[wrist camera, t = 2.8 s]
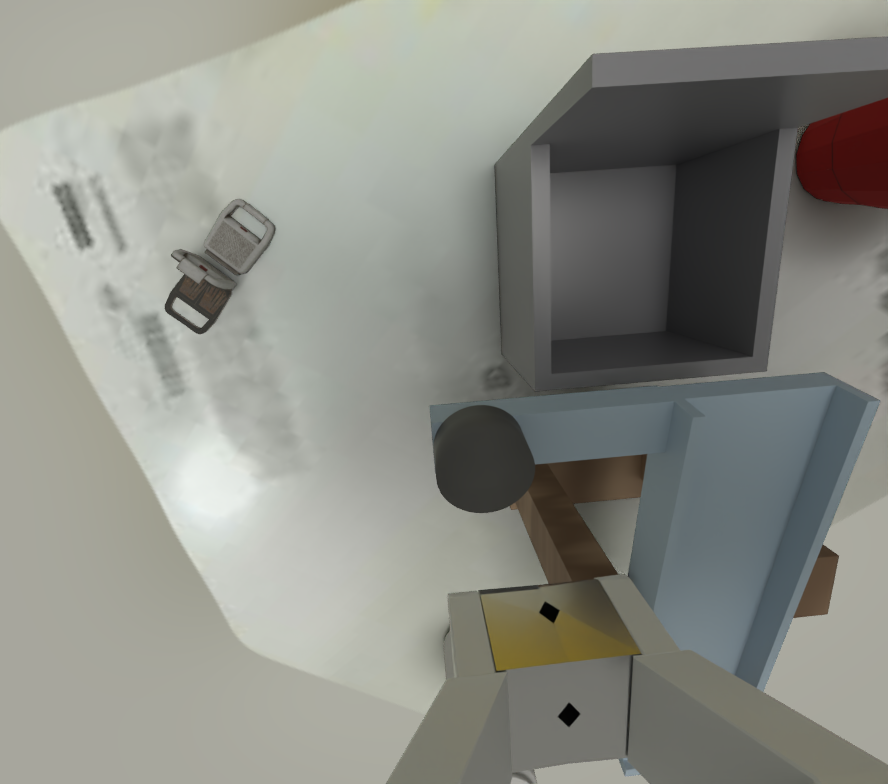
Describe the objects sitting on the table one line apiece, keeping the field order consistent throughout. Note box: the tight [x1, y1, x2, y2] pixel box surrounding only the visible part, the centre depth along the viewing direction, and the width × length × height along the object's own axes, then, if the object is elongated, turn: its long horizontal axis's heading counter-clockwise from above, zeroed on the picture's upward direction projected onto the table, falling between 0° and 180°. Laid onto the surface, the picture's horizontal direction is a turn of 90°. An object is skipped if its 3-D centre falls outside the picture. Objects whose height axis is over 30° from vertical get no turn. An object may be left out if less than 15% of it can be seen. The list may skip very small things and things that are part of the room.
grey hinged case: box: [165, 199, 276, 334], centre depth 27 cm, size 8×3×4 cm, turn 141°
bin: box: [495, 37, 888, 391], centre depth 22 cm, size 12×12×16 cm
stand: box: [510, 454, 839, 618], centre depth 27 cm, size 11×6×14 cm, turn 94°
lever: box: [430, 372, 880, 776], centre depth 21 cm, size 14×20×6 cm
